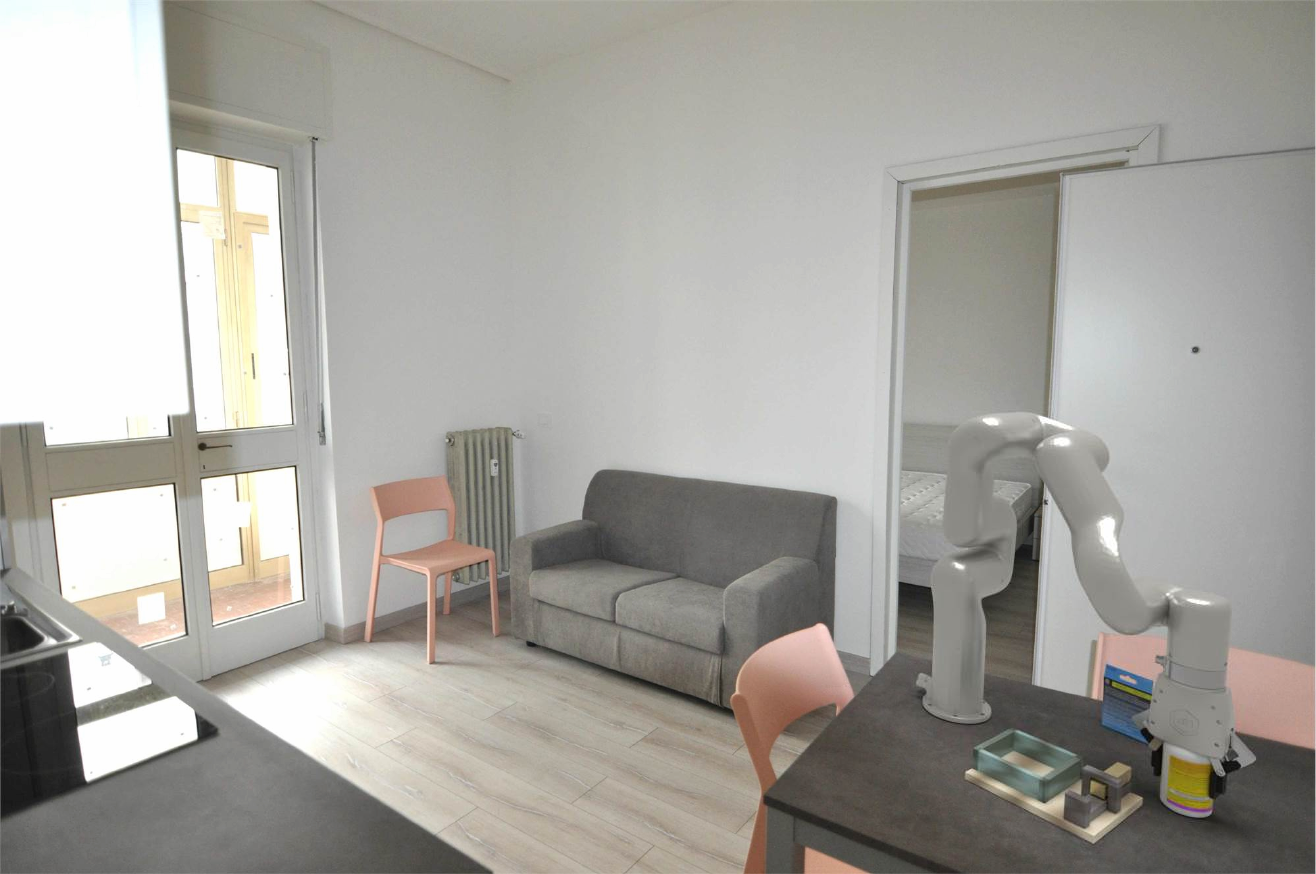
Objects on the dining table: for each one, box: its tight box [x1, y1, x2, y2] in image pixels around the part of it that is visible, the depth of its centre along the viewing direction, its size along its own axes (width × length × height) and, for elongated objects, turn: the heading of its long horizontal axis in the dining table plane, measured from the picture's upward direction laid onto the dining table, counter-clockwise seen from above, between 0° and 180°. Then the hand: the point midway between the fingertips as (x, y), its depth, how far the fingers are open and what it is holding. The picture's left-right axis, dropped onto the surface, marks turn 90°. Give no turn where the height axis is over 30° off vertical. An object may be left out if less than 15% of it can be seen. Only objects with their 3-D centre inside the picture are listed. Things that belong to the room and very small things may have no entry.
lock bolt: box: [1090, 761, 1132, 799], centre depth 113 cm, size 2×9×2 cm, turn 125°
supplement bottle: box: [1159, 741, 1214, 819], centre depth 112 cm, size 7×7×13 cm
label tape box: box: [1101, 662, 1155, 746], centre depth 134 cm, size 9×4×12 cm, turn 28°
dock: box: [964, 727, 1144, 845], centre depth 116 cm, size 20×16×6 cm
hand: (1186, 783), depth 112 cm, fingers closed on supplement bottle, 6 cm apart
